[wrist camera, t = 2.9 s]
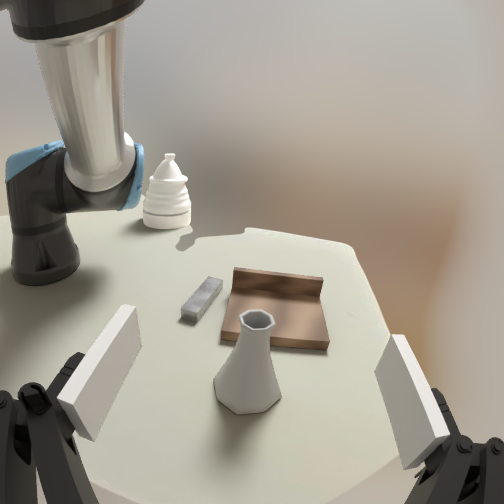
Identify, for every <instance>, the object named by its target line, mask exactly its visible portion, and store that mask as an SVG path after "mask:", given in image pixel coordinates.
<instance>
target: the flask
mask: <svg viewBox="0 0 504 504" xmlns="http://www.w3.org/2000/svg"><path fill="white" fill-rule="evenodd" d="M238 318H239V322H240V325H241V329H240V335H239V337H238V340H237V343H236V346H235V348H234V349H233V351H232V353H231V354H230V356H229V357H228V359H227V361H226V362H225V364H224V365H223V366H222V368H221V369H220V371H219V372H218V373H217V375H216V376H215V378H214V385H215V391H216V396H217V399H218V400H219V401H220V402H221V403H223V404H224V405H225V406H227V407H228V408H229V409H230V410H232V411H233V412H234V413H236V414H237V415H240V414H249V413H258V412H265V411H266V410H267V409H268V408H270V407H271V406H272V405H273V404H274V403H275V402H276V401H277V400H278V399H279V398H281V397H282V396H281V392H280V388H279V385H278V382H277V379H276V375H275V372H274V368H273V364H272V360H271V356H270V334H271V330H272V329H274V328H275V326H276V323H275V321H274V318H273V316H272V315H271V314H269V313H267V312H265V311H263V310H262V309H257V310H247V311H245V312H243V313H242V314H240V315H239V316H238Z"/></svg>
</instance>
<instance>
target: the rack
mask: <svg viewBox="0 0 504 504" xmlns="http://www.w3.org/2000/svg"><path fill="white" fill-rule="evenodd" d="M322 284H323V278H322V277H313V276H304V275H296V274H287V273H278V272H270V271H262V270H253V269H245V268H237V267H234V271H233V283H232V290H231V294H230V298H229V302H228V306H227V310H226V314H225V318H224V322H223V326H222V331H221V339H224V340H231V341H237V340H238V337H239V335H240V329H241V325H240V322H239V318H238V316H239V315H240V314H242V313H243V312H245V311H247V310H257V309H262V310H263V311H265V312H267V313H269V314H271V315H272V316H273V318H274V321H275V323H276V326H275V328H274V329H272V330H271V334H270V345H274V346H284V347H295V348H308V349H322V350H327V348H328V345H329V342H330V340H329V336H328V331H327V327H326V322H325V318H324V314H323V310H322V305H321V301H320V293H321V289H322Z"/></svg>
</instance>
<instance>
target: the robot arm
mask: <svg viewBox="0 0 504 504" xmlns="http://www.w3.org/2000/svg"><path fill="white" fill-rule="evenodd" d="M145 1H146V0H0V11H2V10H5V9H7V10H9V13H10V17H11V21H12V26H13V31H14V33H15V35H16V37H17V38H19V39H20V40H22V41H25V42H29V43H35V48H36V52H37V56H38V60H39V65H40V69H41V72H42V76H43V80H44V83H45V87H46V90H47V94H48V97H49V100H50V104H51V107H52V110H53V113H54V116H55V119H56V122H57V125H58V128H59V130H60V133H61V136H62V139H63V141H64V144H65V147H66V148H63V147H64V144H63V142H62V141H61V140H59V141H56V142H52V143H48V144H45V145H42V146H38V147H34V148H31V149H28V150H25V151H21V152H18V153H15V154H13V155H11V156H10V157H9V158H8V159H7V162H6V180H5V183H6V189H7V199H8V206H9V214H10V221H11V227H12V233H13V243H12V261H11V268H12V272H13V276H14V278H15V280H16V281H18V282H19V283H22V284H25V285H43V284H48V283H52V282H55V281H58V280H60V279H63V278H65V277H66V276H68V275H70V274H71V273H72V272H74V271H75V270H76V269H77V267H78V266H79V264H80V255H79V250H78V247H77V245H76V244H75V243H74V240H73V238H72V235H71V233H70V230H69V228H68V225H67V220H66V213H76V212H90V211H107V210H117V211H122V210H123V209H132V208H134V207H136V206H137V205H138V203H139V201H140V197H141V191H142V181H143V172H144V149H143V146H142V145H141V144H139V143H135V142H133V141H132V139H131V138H130V137H129V135H128V134H127V133H125V131H124V53H125V36H126V22H127V17H129V16H131V15H132V14H134V13H135V12H136V11H138V10H139V9H140V8H141V7H142V6H143V4H144V3H145ZM141 348H142V344H141V338H140V332H139V325H138V318H137V311H136V306H130V305H125V304H122V306H121V307H120V308H119V310H118V311H117V312H116V314H115V315H114V316H113V318H112V319H111V320H110V322H109V323H108V324H107V326H106V327H105V328H104V330H103V331H102V333H101V334H100V335H99V337H98V338H97V339H96V341H95V342H94V344H93V345H92V346H91V348H90V349H89V351H88V352H87V354H83V353H80V352H77V353H76V354H74V355H73V356H71V357H70V358H69V359H68V360H67V362H66V363H65V365H64V367H62V369H61V370H60V373H58V374H57V376H56V377H55V379H54V380H53V382H52V383H51V384H50V386H49V387H48V389H47V390H46V391H45V389H44V387H43V386H42V385H41V384H38V383H35V382H33V383H28V384H25V385H24V386H22V387H21V388H20V390H19V392H18V399H19V400H15V399H13V397H12V396H11V394H10V393H9V392H7V391H4V390H1V391H0V504H38V502H37V485H36V467H37V471H38V475H39V478H40V482H41V485H42V489H43V492H44V495H45V498H46V501H47V504H99V503H98V500H97V498H96V496H95V494H94V492H93V489H92V487H91V484H90V482H89V479H88V477H87V474H86V472H85V469H84V467H83V464H82V461H81V458H80V455H79V452H78V450H77V446H76V443H75V440H74V438H73V436H72V434H73V432H74V430H76V431H77V433H78V434H79V436H81V437H83V438H86V439H88V440H91V441H93V442H94V441H95V439H96V437H97V435H98V433H99V431H100V428H101V426H102V424H103V422H104V420H105V418H106V416H107V414H108V412H109V410H110V408H111V406H112V404H113V402H114V400H115V398H116V396H117V394H118V392H119V390H120V388H121V386H122V384H123V382H124V380H125V378H126V376H127V374H128V372H129V370H130V368H131V367H132V365H133V363H134V361H135V359H136V357H137V355H138V353H139V351H140V350H141ZM374 372H375V375H376V378H377V381H378V384H379V387H380V390H381V393H382V396H383V399H384V402H385V406H386V409H387V412H388V416H389V419H390V422H391V426H392V429H393V433H394V436H395V440H396V443H397V447H398V451H399V454H400V458H401V462H402V466H403V470H406V469H411V468H416V467H418V466H419V465H420V464H421V463H422V462H423V461H425V465H426V466H425V467H424V468H423V469H422V470H421V471H420V472H418V473H417V474H416V475H415V478H416V477H418V476H419V475H420V476H419V478H418V480H417V482H416V484H415V485H414V487H413V489H412V491H411V493H410V495H409V496H408V498H407V500H406V502H405V503H404V504H504V442H503V441H502V440H501V439H499V438H496V437H493V438H491V439H489V440H488V441H487V443H485V444H478V443H473V442H472V440H471V439H470V438H468V437H467V436H464V435H461V434H460V432H459V430H458V427H457V425H456V423H455V421H454V418H453V416H452V414H451V411H449V407H448V405H446V404H447V403H446V401H445V398H444V396H443V395H442V394H441V393H440V392H439V390H438V389H436V388H432V389H430V387H429V384H428V382H427V380H426V378H425V376H424V374H423V372H422V370H421V368H420V366H419V364H418V362H417V360H416V358H415V356H414V354H413V352H412V350H411V348H410V346H409V344H408V342H407V340H406V338H405V336H404V335H394V334H392V335H391V337H390V339H389V341H388V344H387V346H386V348H385V350H384V353H383V355H382V357H381V359H380V361H379V363H378V365H377V367H376V369H375V371H374Z"/></svg>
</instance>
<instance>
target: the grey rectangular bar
mask: <svg viewBox="0 0 504 504" xmlns="http://www.w3.org/2000/svg"><path fill="white" fill-rule="evenodd" d="M222 284H223V280H221V279H217V278H213V277H208V278H207V279H206V280H205V281H204V282H203V283H202V284H201V286H200V287H199V288H198V289H197V290H196V291H195V292H194V294H193V295H192V296H191V297H190V298H189V299H188V300H187V302H186V303H185V304H184V305H183V306H182V307H181V317H182V318H185V319H188V320H192V321H195V322H198V321H199V319H200V318H201V317H202V315H203V314H204V313H205V311H206V310H207V308H208V307H209V306H210V304H211V303H212V302H213V300H214V299H215V298H216V296H217V295H218V294H219V292H220V291H221V289H222Z"/></svg>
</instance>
